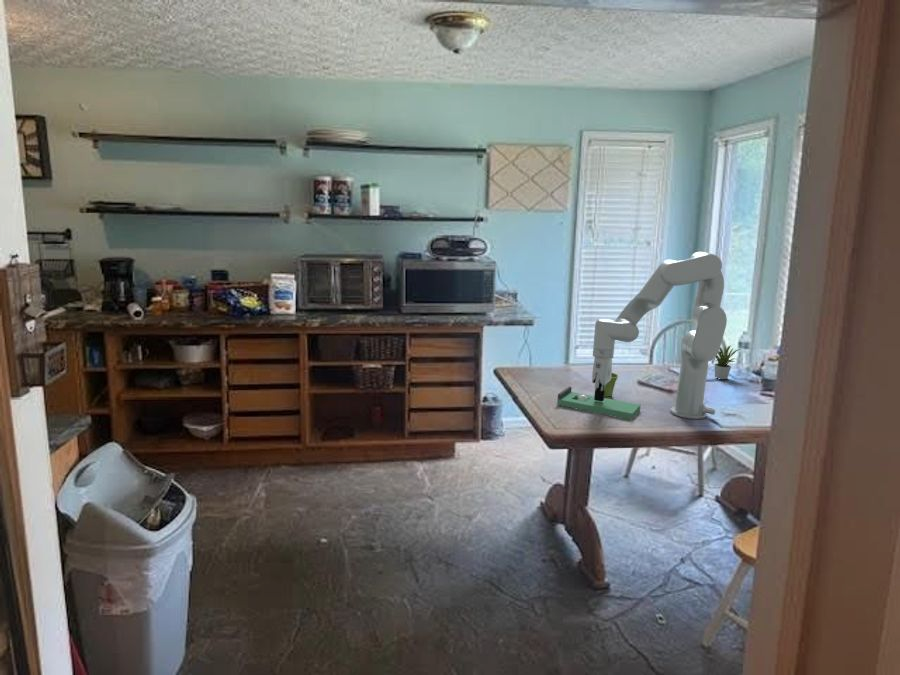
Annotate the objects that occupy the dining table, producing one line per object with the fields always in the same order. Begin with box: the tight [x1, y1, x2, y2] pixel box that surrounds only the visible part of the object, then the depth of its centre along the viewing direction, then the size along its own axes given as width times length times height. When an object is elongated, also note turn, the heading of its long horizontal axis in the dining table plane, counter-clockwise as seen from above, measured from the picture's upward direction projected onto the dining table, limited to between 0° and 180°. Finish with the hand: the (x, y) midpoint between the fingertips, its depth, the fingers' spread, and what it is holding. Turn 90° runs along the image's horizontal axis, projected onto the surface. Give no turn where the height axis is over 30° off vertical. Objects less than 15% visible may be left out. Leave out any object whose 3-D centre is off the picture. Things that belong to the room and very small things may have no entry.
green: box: [556, 386, 641, 421], centre depth 244 cm, size 28×13×4 cm, turn 61°
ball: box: [577, 394, 588, 402], centre depth 247 cm, size 4×4×4 cm
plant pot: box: [604, 372, 619, 398], centre depth 262 cm, size 9×9×9 cm
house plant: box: [713, 345, 741, 380], centre depth 298 cm, size 14×14×16 cm
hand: (598, 400), depth 244 cm, fingers closed
